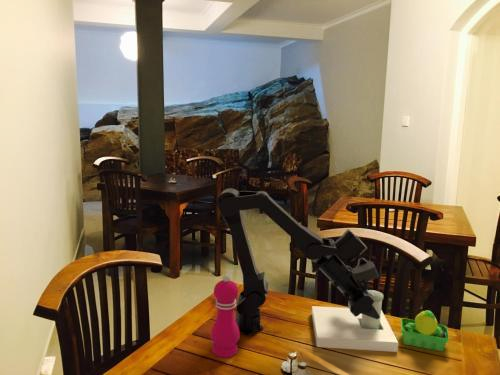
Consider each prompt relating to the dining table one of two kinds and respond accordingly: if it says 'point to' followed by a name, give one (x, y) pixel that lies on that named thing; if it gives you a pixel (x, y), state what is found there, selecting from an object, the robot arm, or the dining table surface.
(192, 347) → the dining table surface
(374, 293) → the grey cylinder
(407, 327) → the fruit basket
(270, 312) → the dining table surface
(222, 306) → the pepper mill
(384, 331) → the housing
